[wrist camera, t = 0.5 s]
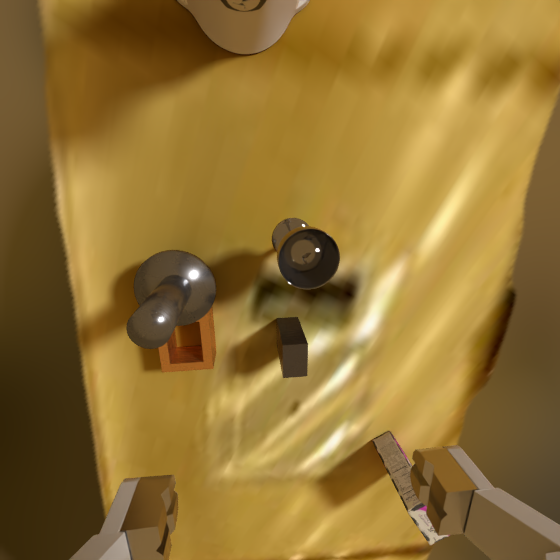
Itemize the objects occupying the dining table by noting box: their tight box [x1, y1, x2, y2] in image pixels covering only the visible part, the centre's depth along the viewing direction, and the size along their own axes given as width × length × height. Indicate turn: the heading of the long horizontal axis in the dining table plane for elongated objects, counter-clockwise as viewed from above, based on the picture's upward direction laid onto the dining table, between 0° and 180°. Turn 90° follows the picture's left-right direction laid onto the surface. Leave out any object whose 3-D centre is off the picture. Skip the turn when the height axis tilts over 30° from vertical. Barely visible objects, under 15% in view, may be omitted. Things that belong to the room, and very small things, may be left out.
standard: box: [127, 250, 216, 372], centre depth 45 cm, size 21×12×20 cm, turn 1°
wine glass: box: [272, 218, 340, 289], centre depth 45 cm, size 8×8×15 cm
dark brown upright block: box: [277, 317, 308, 378], centre depth 53 cm, size 6×4×10 cm, turn 1°
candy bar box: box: [372, 431, 449, 545], centre depth 63 cm, size 11×5×16 cm, turn 32°
